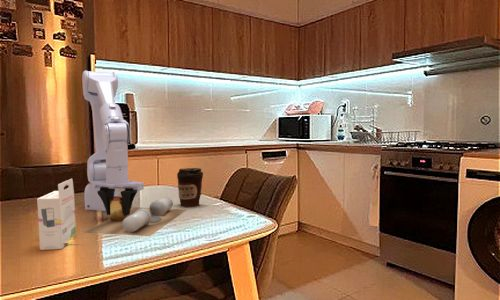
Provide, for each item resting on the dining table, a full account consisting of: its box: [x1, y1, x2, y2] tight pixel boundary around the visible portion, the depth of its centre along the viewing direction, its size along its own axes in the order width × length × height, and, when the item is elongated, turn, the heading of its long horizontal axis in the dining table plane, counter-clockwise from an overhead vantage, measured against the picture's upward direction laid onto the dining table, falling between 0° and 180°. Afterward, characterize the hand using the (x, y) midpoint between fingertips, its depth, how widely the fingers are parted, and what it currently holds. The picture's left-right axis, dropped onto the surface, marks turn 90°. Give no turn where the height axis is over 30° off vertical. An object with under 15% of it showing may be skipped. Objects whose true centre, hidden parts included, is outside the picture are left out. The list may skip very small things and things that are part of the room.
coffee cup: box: [176, 167, 204, 208], centre depth 118 cm, size 9×8×13 cm
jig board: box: [82, 206, 187, 237], centre depth 102 cm, size 18×26×1 cm
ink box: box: [36, 178, 77, 251], centre depth 84 cm, size 9×5×15 cm, turn 5°
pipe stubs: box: [122, 196, 174, 233], centre depth 101 cm, size 5×23×5 cm, turn 170°
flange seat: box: [150, 217, 162, 223], centre depth 101 cm, size 6×6×1 cm
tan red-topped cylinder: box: [109, 195, 127, 221], centre depth 101 cm, size 4×4×6 cm
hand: (118, 214), depth 102 cm, fingers closed on tan red-topped cylinder, 4 cm apart
